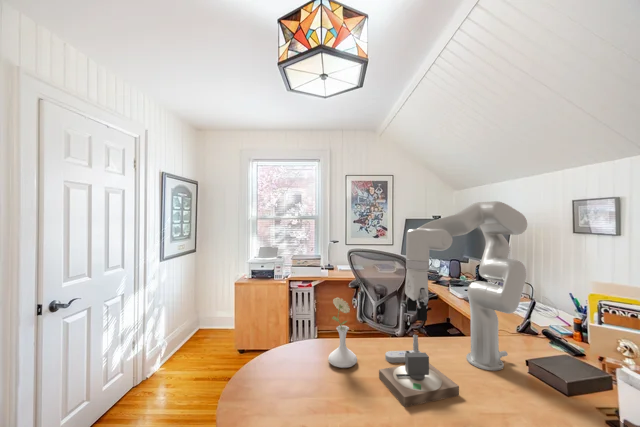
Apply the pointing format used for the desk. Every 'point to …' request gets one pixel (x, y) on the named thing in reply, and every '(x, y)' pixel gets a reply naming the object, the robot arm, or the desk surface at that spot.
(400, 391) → the board
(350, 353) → the flower in vase
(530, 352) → the desk surface
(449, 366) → the desk surface
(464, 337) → the desk surface
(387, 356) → the electronic device
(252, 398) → the desk surface
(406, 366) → the dark grey boxy piece
